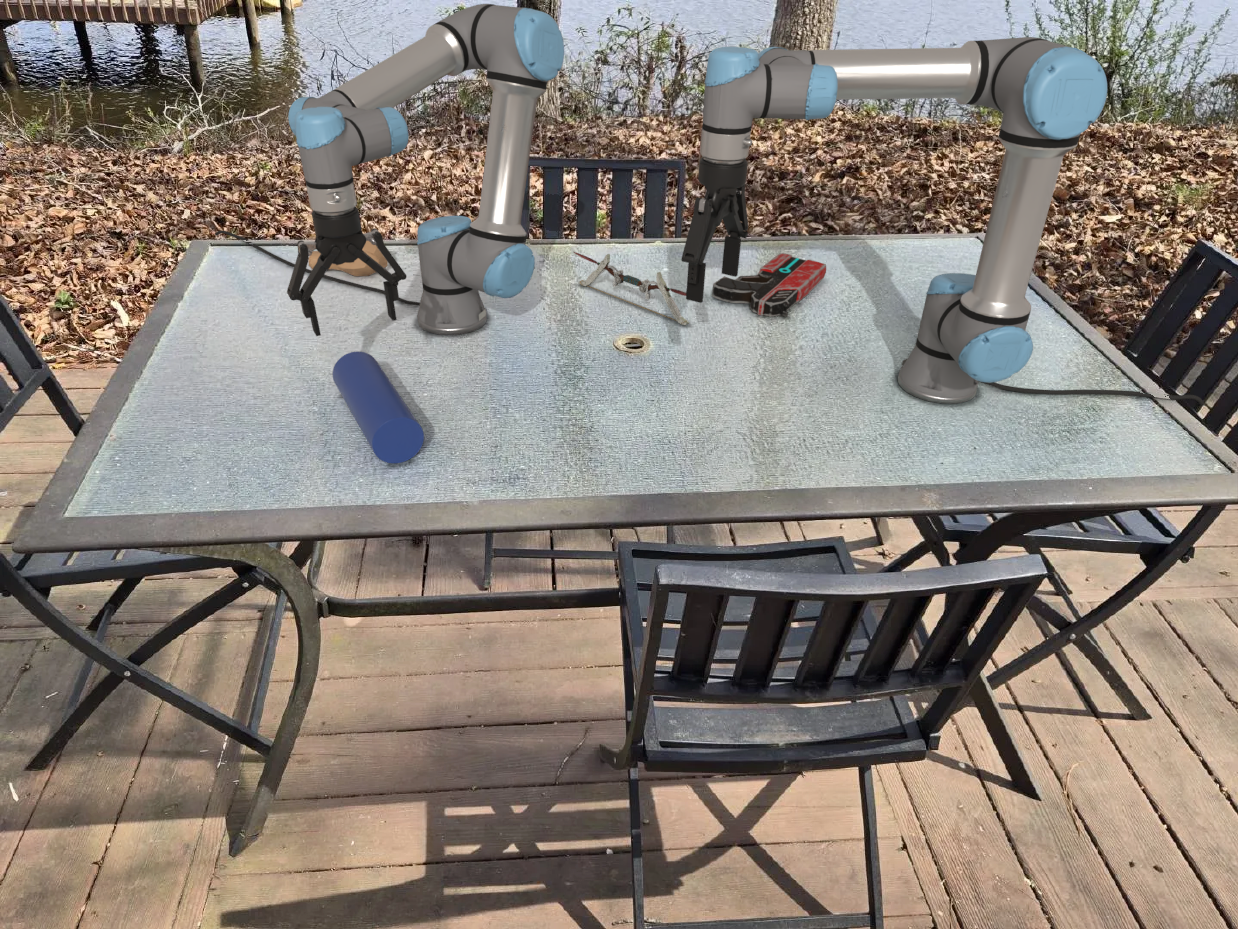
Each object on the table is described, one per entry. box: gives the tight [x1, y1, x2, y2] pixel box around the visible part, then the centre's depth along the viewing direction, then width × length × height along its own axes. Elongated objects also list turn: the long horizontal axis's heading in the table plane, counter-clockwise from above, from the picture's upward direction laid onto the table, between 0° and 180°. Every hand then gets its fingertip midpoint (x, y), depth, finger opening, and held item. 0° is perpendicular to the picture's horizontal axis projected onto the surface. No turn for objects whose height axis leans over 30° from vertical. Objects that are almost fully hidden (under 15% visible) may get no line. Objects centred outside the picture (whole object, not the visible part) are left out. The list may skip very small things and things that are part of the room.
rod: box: [332, 350, 425, 464], centre depth 157 cm, size 27×9×9 cm, turn 28°
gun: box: [711, 252, 827, 318], centre depth 215 cm, size 4×31×19 cm
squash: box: [308, 241, 389, 277], centre depth 218 cm, size 11×20×9 cm, turn 90°
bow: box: [573, 251, 690, 326], centre depth 205 cm, size 39×2×10 cm, turn 47°
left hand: (355, 325), depth 157 cm, fingers open, 13 cm apart
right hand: (712, 287), depth 148 cm, fingers open, 13 cm apart
